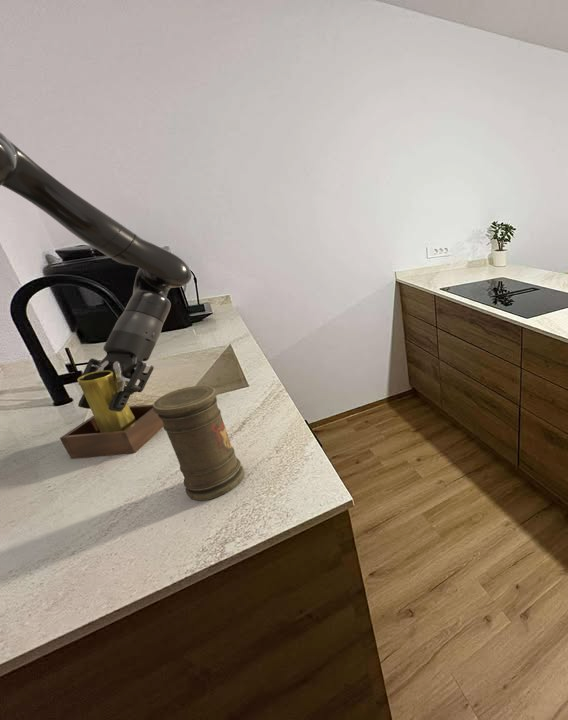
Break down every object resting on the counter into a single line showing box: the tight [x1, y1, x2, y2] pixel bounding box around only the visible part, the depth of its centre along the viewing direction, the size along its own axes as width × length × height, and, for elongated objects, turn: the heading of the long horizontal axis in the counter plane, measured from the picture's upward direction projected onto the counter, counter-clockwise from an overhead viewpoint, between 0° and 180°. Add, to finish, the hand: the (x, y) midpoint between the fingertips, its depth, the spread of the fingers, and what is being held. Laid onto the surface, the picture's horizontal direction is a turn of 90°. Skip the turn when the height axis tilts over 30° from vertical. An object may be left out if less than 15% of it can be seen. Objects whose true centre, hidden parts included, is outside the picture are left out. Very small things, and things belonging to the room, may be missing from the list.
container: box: [152, 385, 245, 501], centre depth 65 cm, size 9×9×18 cm
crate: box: [59, 403, 164, 459], centre depth 80 cm, size 12×12×5 cm
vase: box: [77, 370, 136, 433], centre depth 78 cm, size 6×6×14 cm
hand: (99, 409), depth 76 cm, fingers open, 7 cm apart
